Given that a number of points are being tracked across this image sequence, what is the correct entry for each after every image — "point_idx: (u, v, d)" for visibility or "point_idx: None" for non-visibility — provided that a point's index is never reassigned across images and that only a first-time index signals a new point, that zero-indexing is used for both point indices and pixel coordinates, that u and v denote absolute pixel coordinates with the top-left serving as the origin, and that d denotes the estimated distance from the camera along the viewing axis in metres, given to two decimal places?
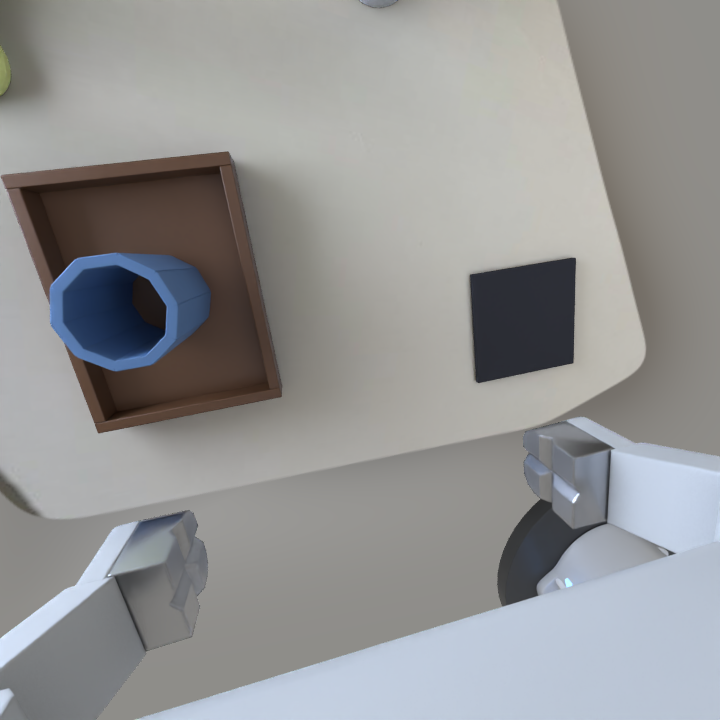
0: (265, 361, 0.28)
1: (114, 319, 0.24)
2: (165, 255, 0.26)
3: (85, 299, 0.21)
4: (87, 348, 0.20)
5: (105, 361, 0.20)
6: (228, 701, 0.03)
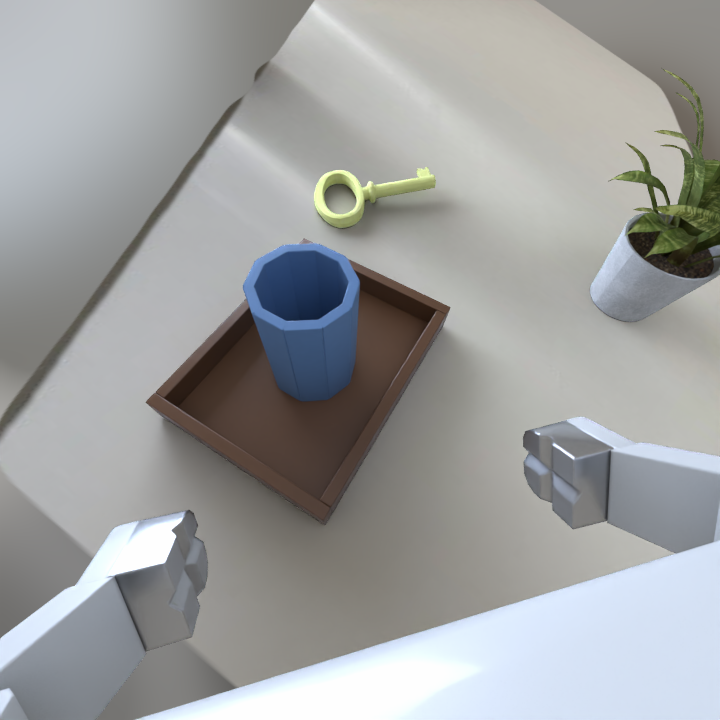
0: (343, 466, 0.22)
1: None
2: None
3: (284, 282, 0.23)
4: None
5: (256, 303, 0.19)
6: (229, 701, 0.03)
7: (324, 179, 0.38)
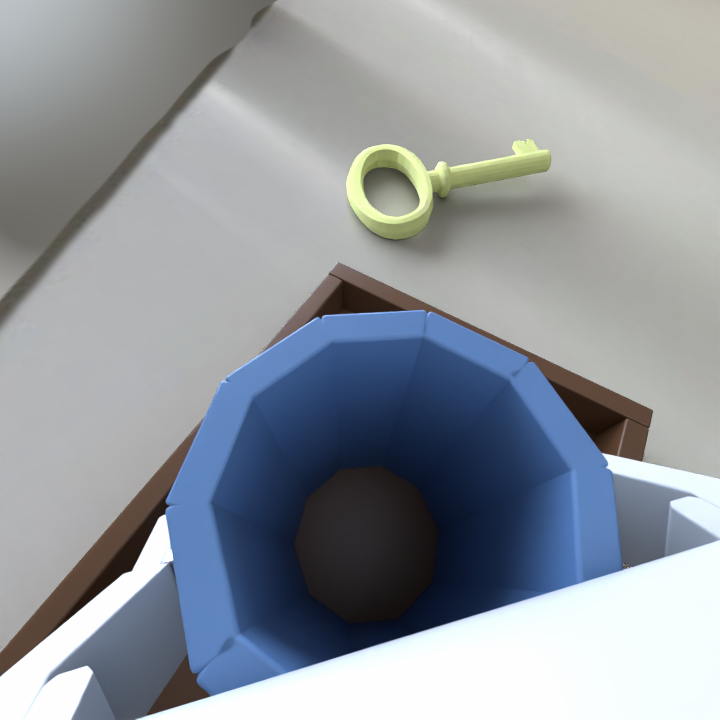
0: None
1: (286, 497, 0.10)
2: None
3: (314, 411, 0.08)
4: (217, 509, 0.05)
5: (212, 604, 0.04)
6: (228, 701, 0.03)
7: (362, 159, 0.23)
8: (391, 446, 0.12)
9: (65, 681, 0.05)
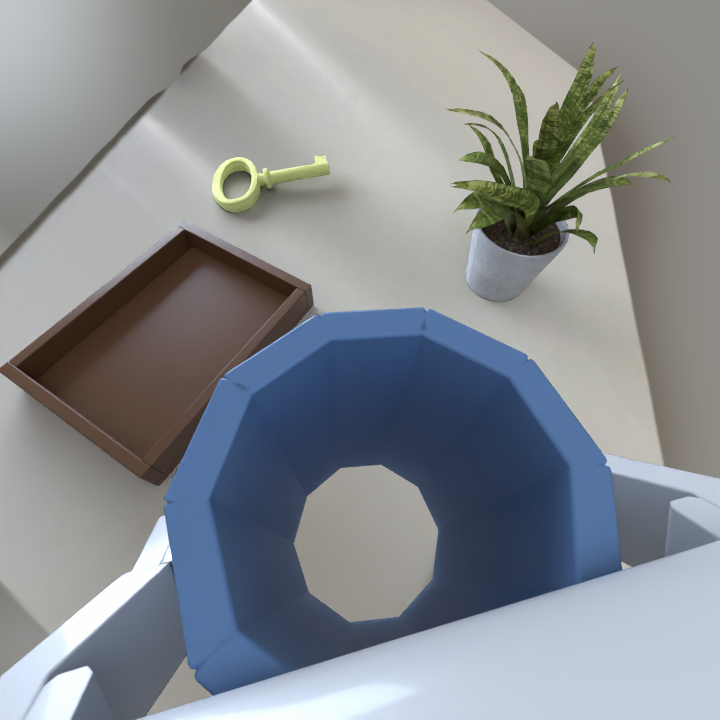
0: (170, 430, 0.24)
1: (285, 495, 0.10)
2: None
3: (313, 409, 0.08)
4: (215, 506, 0.05)
5: (211, 600, 0.04)
6: (230, 701, 0.03)
7: (224, 166, 0.39)
8: (391, 445, 0.12)
9: (66, 680, 0.05)
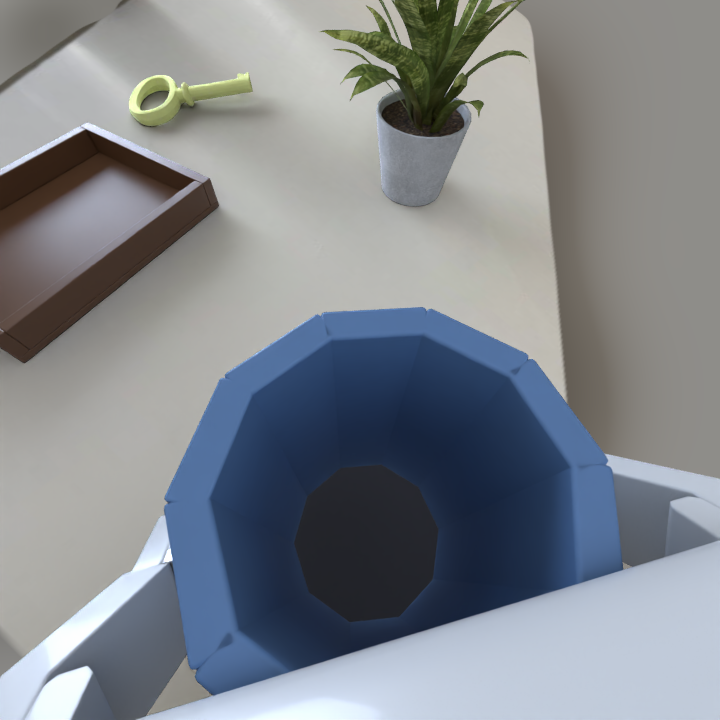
0: (34, 300, 0.22)
1: (285, 495, 0.10)
2: None
3: (313, 408, 0.08)
4: (216, 506, 0.05)
5: (211, 600, 0.04)
6: (228, 702, 0.03)
7: (143, 83, 0.38)
8: (391, 444, 0.12)
9: (65, 681, 0.05)
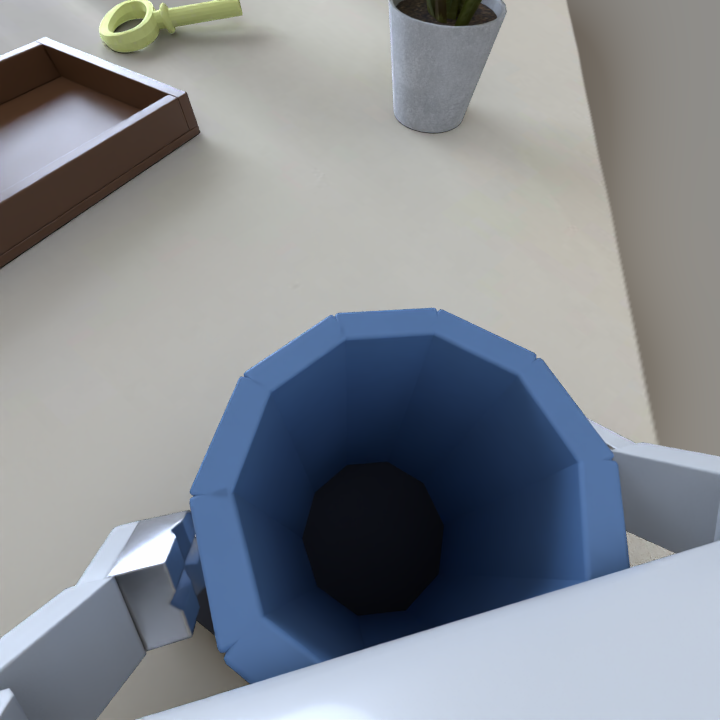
0: None
1: (296, 491, 0.10)
2: None
3: (325, 407, 0.08)
4: (238, 499, 0.05)
5: (237, 588, 0.05)
6: (229, 701, 0.03)
7: (117, 7, 0.33)
8: (398, 442, 0.12)
9: None
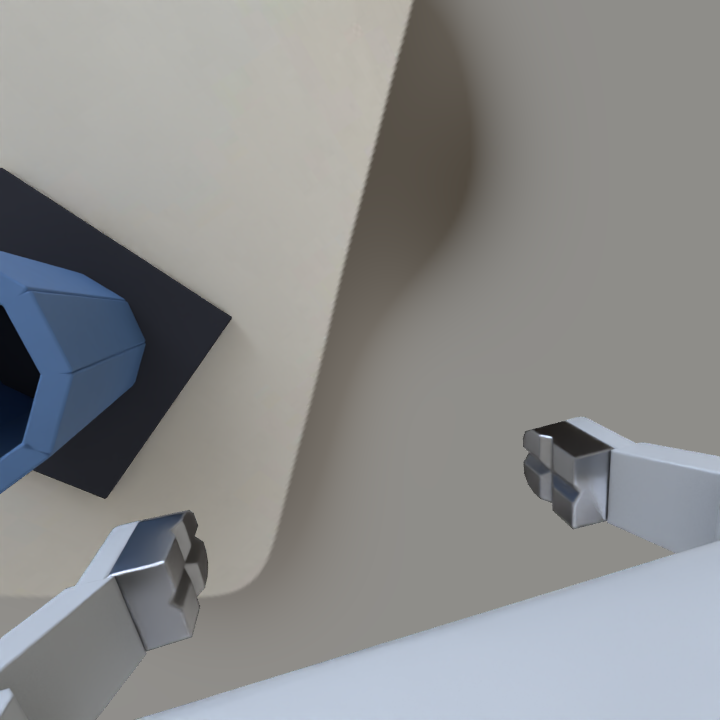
0: None
1: None
2: (119, 302, 0.15)
3: None
4: None
5: None
6: (228, 701, 0.03)
7: None
8: None
9: None
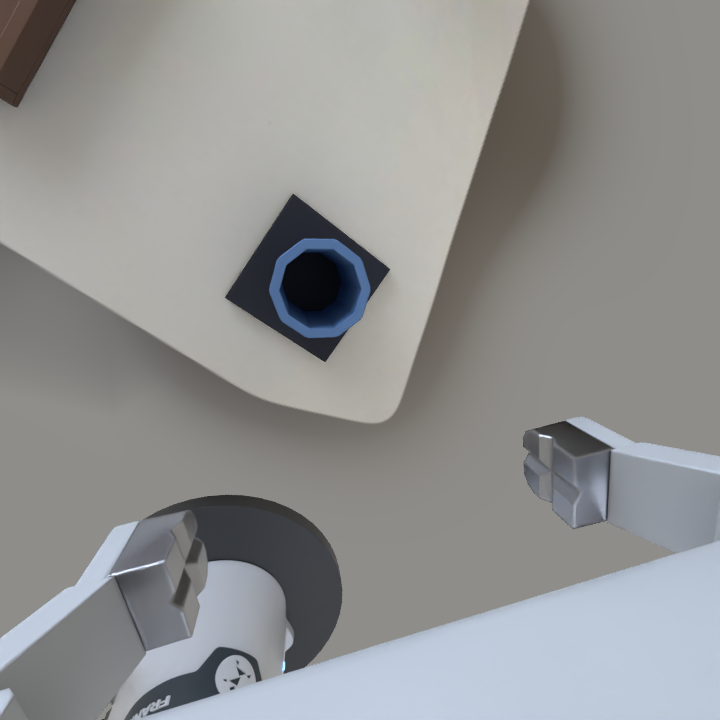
0: (2, 39, 0.22)
1: None
2: None
3: None
4: (279, 291, 0.23)
5: (282, 309, 0.23)
6: (230, 701, 0.03)
7: None
8: (324, 252, 0.28)
9: None
